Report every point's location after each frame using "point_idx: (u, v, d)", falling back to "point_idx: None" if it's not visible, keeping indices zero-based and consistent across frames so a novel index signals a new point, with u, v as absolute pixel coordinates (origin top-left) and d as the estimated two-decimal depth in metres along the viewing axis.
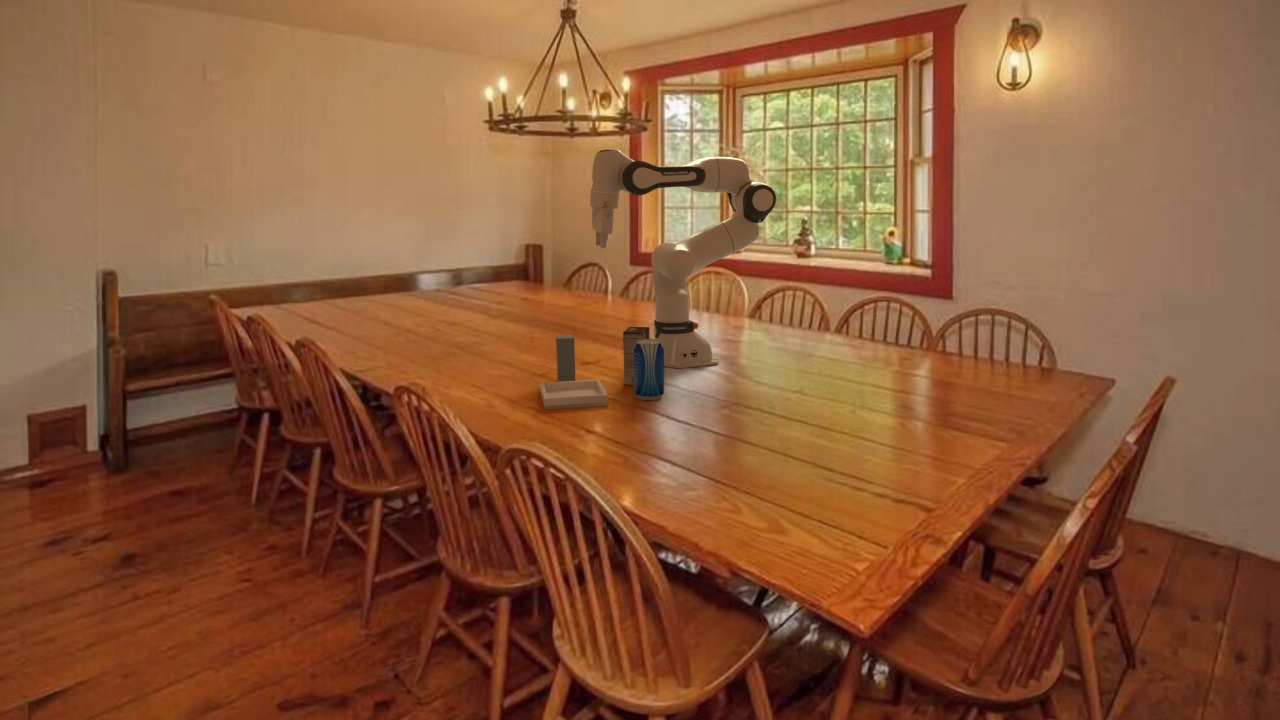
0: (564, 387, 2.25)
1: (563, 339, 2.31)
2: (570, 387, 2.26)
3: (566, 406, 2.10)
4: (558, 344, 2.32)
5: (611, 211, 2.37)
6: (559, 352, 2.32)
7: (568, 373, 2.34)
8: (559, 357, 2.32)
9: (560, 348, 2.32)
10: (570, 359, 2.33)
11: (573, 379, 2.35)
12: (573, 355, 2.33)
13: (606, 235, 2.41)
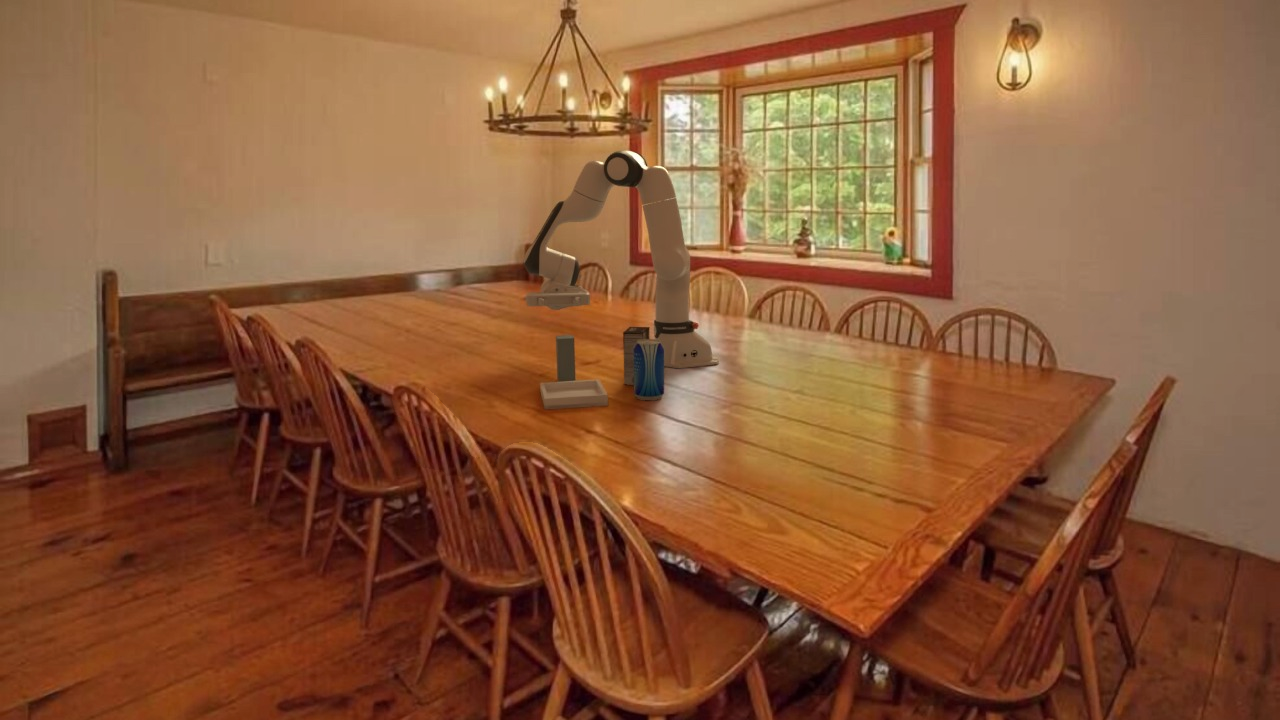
0: (564, 387, 2.25)
1: (563, 339, 2.31)
2: (570, 387, 2.26)
3: (566, 406, 2.10)
4: (558, 344, 2.32)
5: None
6: (559, 352, 2.32)
7: (568, 373, 2.34)
8: (559, 357, 2.32)
9: (560, 348, 2.32)
10: (570, 359, 2.33)
11: (573, 379, 2.35)
12: (573, 355, 2.33)
13: (538, 299, 2.46)
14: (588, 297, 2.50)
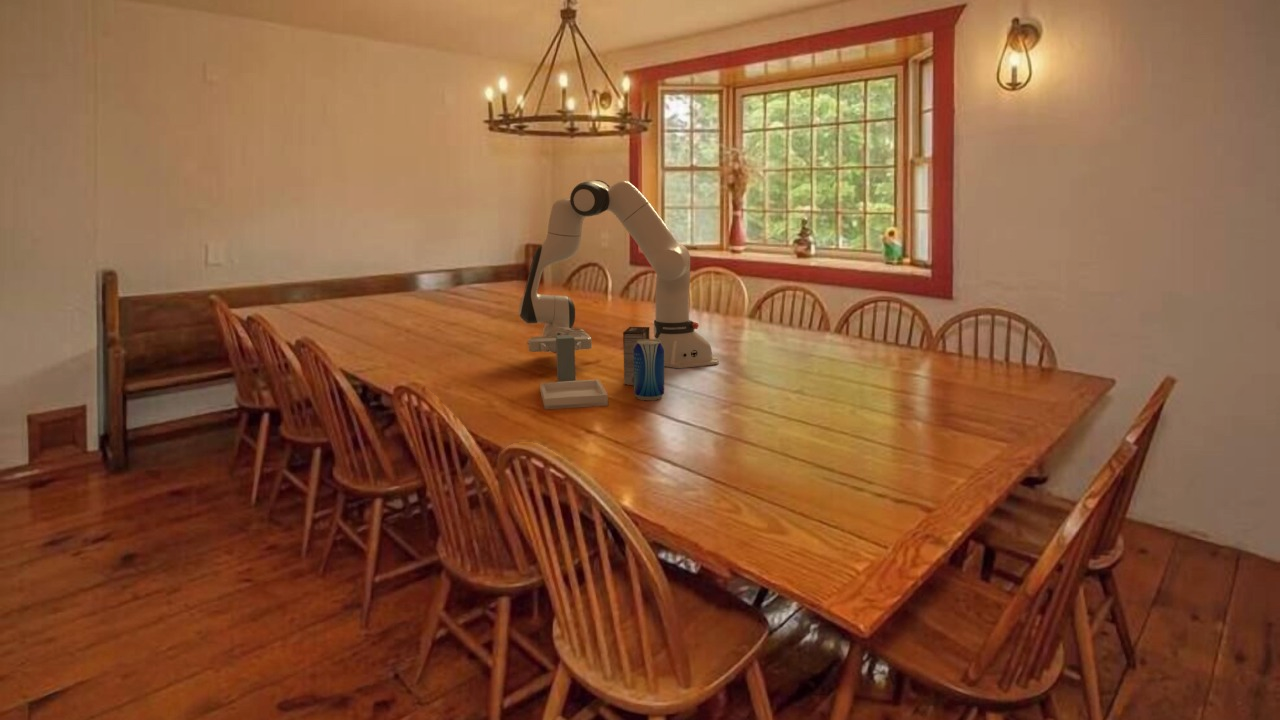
0: (564, 387, 2.25)
1: (563, 339, 2.31)
2: (570, 387, 2.26)
3: (566, 406, 2.10)
4: (558, 344, 2.32)
5: None
6: (559, 352, 2.32)
7: (568, 373, 2.34)
8: (559, 357, 2.32)
9: (560, 348, 2.32)
10: (570, 359, 2.33)
11: (573, 379, 2.35)
12: (573, 355, 2.33)
13: (540, 345, 2.49)
14: (590, 341, 2.53)
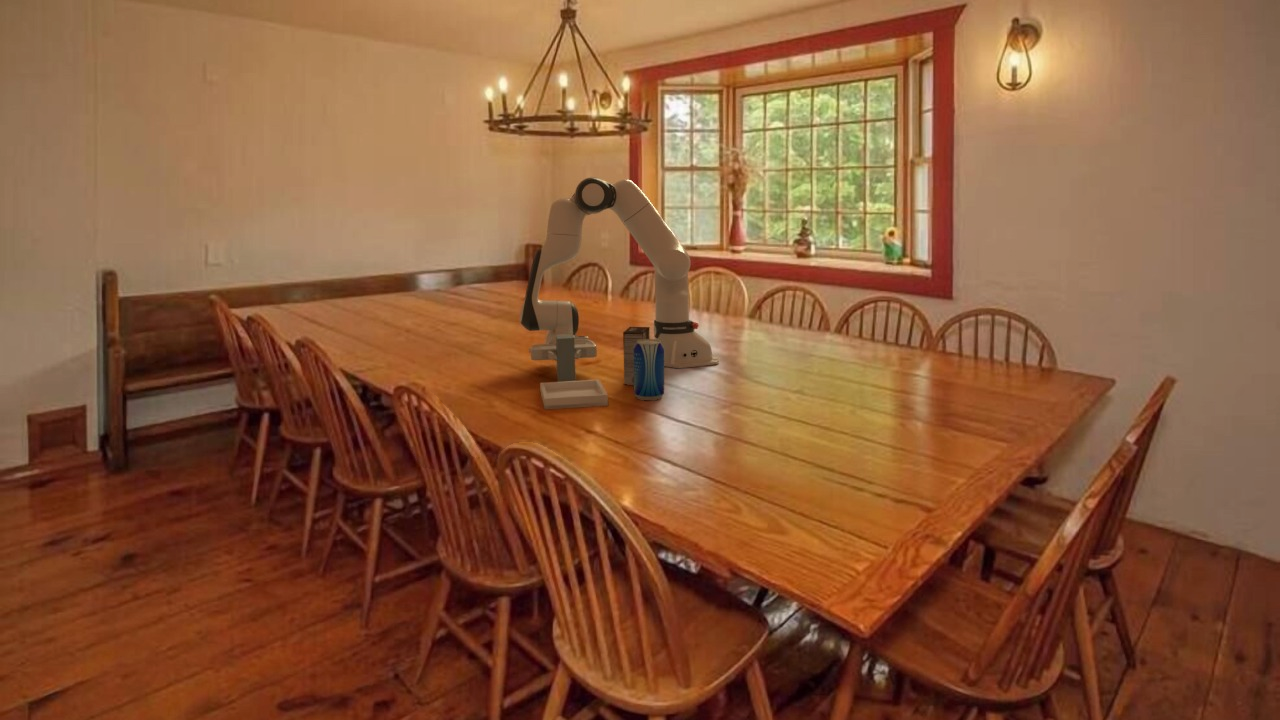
0: (564, 387, 2.25)
1: (563, 339, 2.31)
2: (570, 387, 2.26)
3: (566, 406, 2.10)
4: (558, 344, 2.32)
5: None
6: (559, 352, 2.32)
7: (568, 373, 2.34)
8: (559, 357, 2.32)
9: (560, 348, 2.32)
10: (570, 359, 2.33)
11: (573, 379, 2.35)
12: (573, 355, 2.33)
13: (547, 353, 2.37)
14: (595, 349, 2.41)
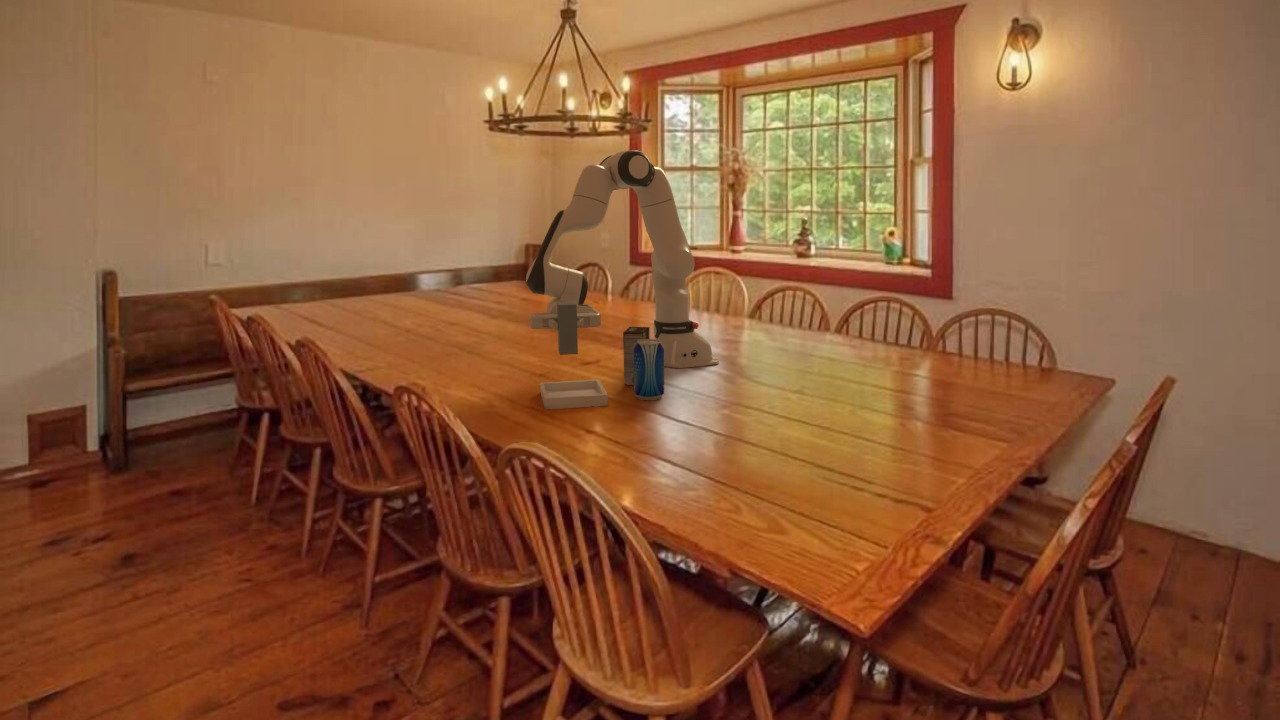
0: (564, 387, 2.25)
1: (565, 306, 2.16)
2: (570, 387, 2.26)
3: (566, 406, 2.10)
4: (559, 311, 2.16)
5: None
6: (560, 320, 2.16)
7: (570, 342, 2.18)
8: (560, 325, 2.17)
9: (561, 315, 2.16)
10: (573, 327, 2.18)
11: (575, 349, 2.19)
12: (575, 323, 2.17)
13: (548, 321, 2.22)
14: (599, 318, 2.25)
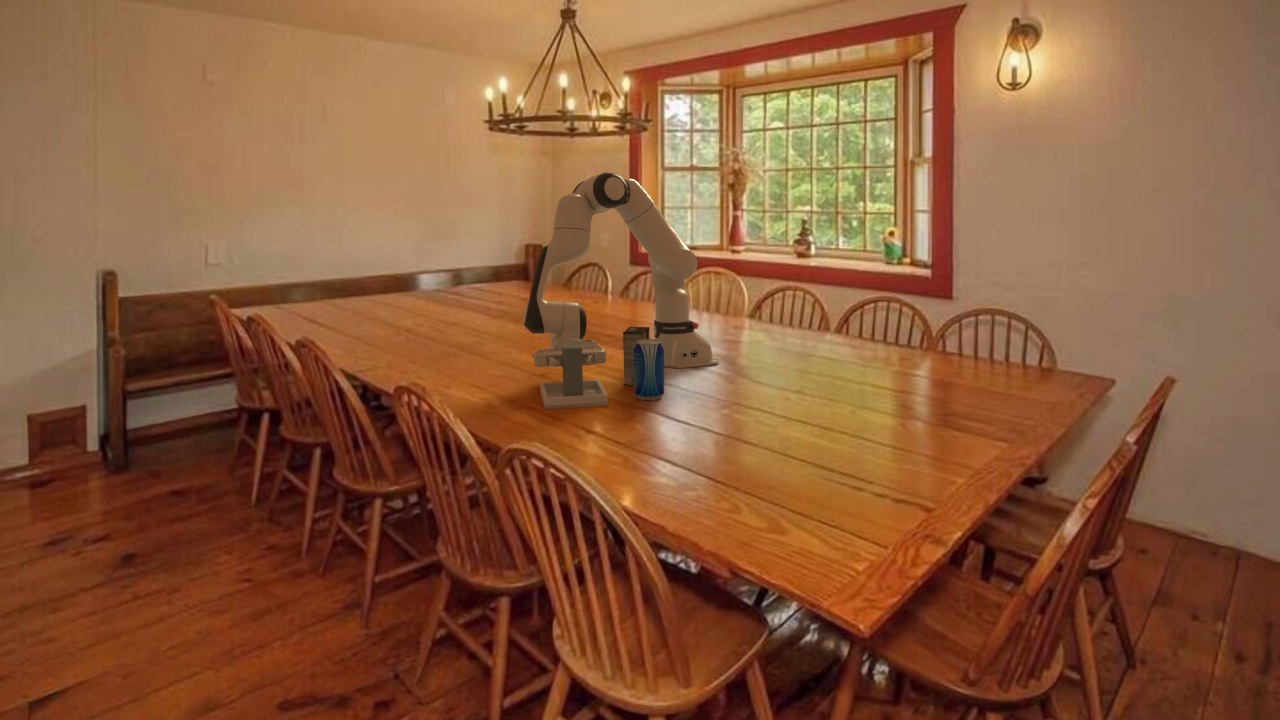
0: None
1: (570, 349, 2.13)
2: None
3: (566, 406, 2.10)
4: (564, 354, 2.13)
5: None
6: (565, 363, 2.14)
7: (575, 385, 2.16)
8: (565, 368, 2.14)
9: (566, 359, 2.14)
10: (578, 371, 2.15)
11: (580, 392, 2.16)
12: (581, 366, 2.15)
13: (548, 359, 2.18)
14: (604, 355, 2.22)
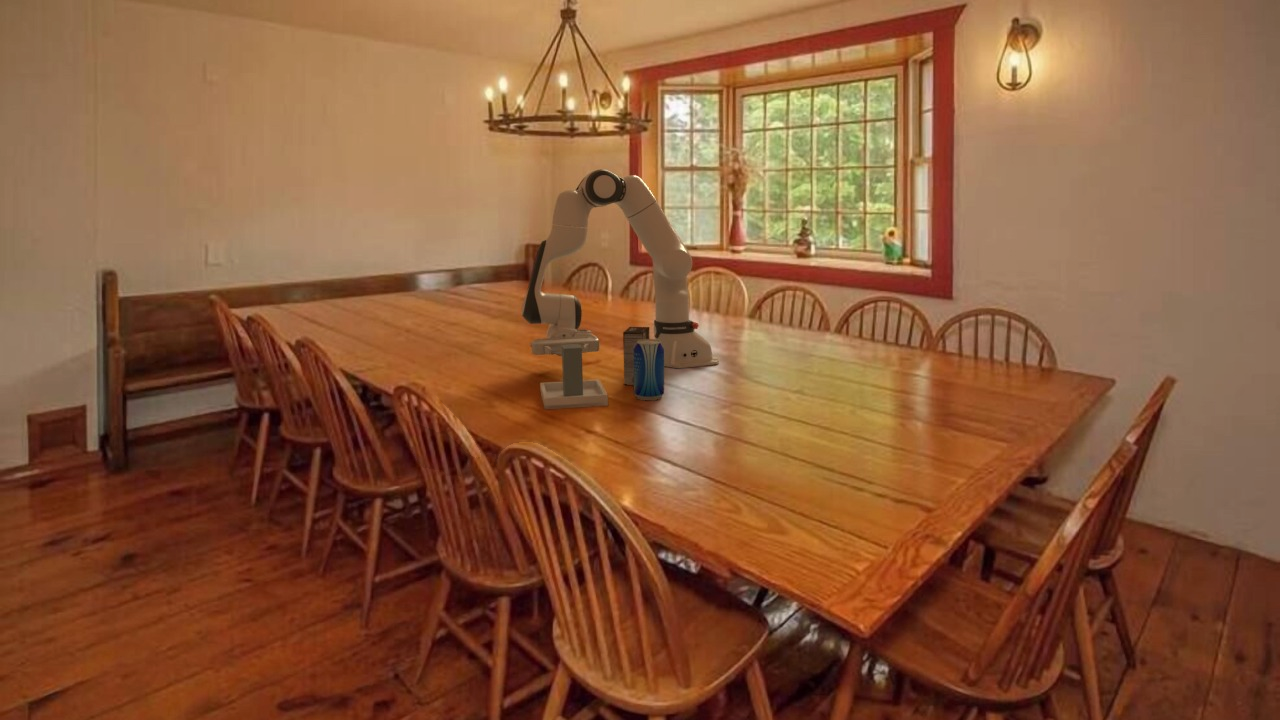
0: None
1: (570, 349, 2.13)
2: None
3: (566, 406, 2.10)
4: (564, 354, 2.13)
5: None
6: (565, 363, 2.14)
7: (575, 385, 2.16)
8: (565, 368, 2.14)
9: (566, 359, 2.14)
10: (578, 371, 2.15)
11: (580, 392, 2.16)
12: (581, 366, 2.15)
13: (544, 347, 2.32)
14: (597, 343, 2.36)
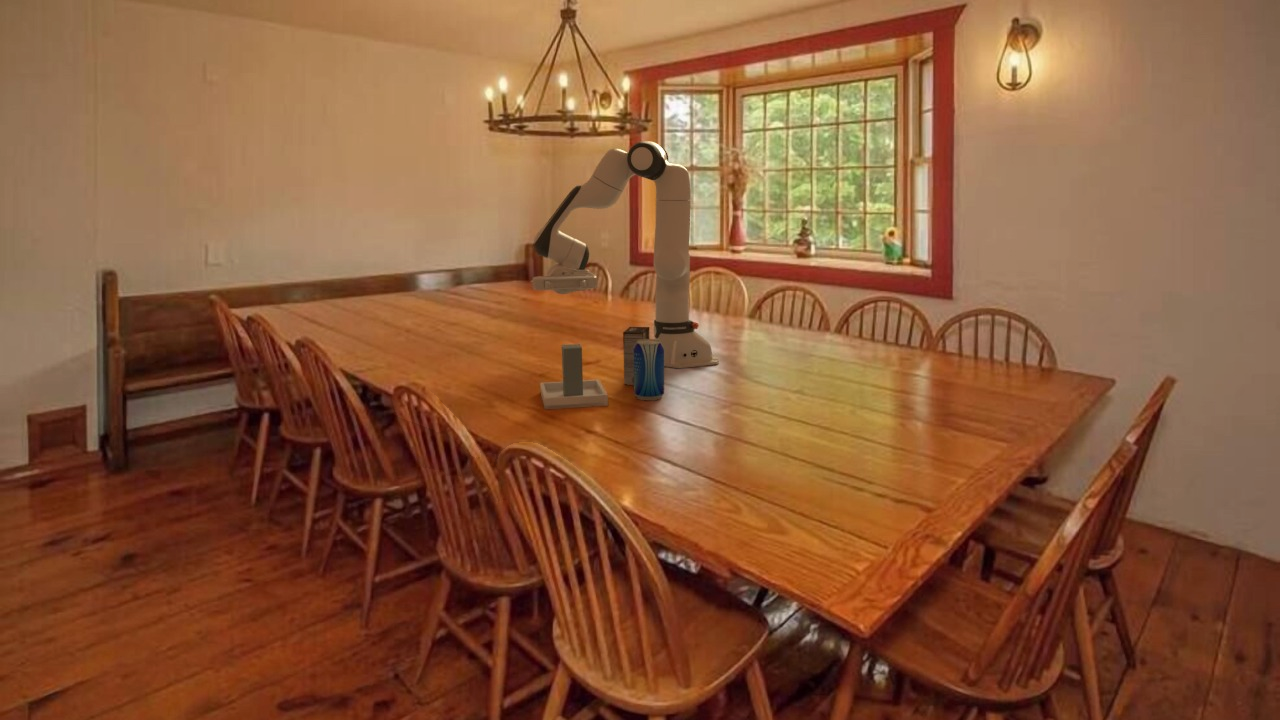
0: None
1: (570, 349, 2.13)
2: None
3: (566, 406, 2.10)
4: (564, 354, 2.13)
5: None
6: (565, 363, 2.14)
7: (575, 385, 2.16)
8: (565, 368, 2.14)
9: (566, 359, 2.14)
10: (578, 371, 2.15)
11: (580, 392, 2.16)
12: (581, 366, 2.15)
13: (544, 283, 2.42)
14: (595, 280, 2.46)
